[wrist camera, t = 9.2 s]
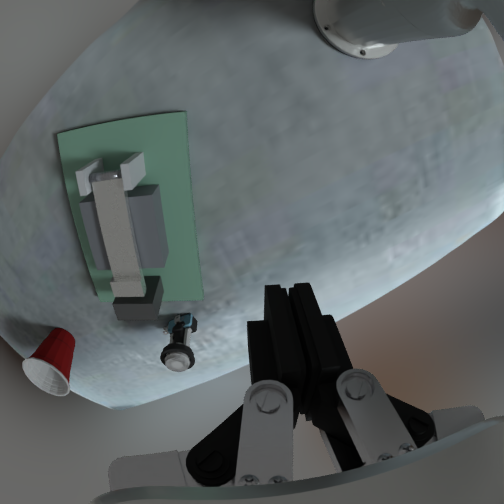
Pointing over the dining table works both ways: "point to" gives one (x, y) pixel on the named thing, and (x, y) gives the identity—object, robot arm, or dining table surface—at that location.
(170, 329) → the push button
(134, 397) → the dining table surface
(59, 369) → the plastic cup
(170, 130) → the board
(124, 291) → the retention strap
